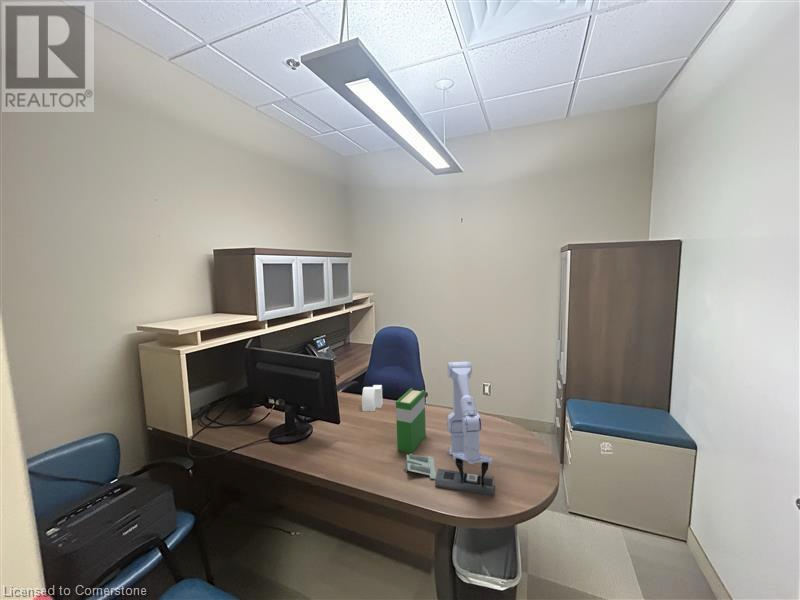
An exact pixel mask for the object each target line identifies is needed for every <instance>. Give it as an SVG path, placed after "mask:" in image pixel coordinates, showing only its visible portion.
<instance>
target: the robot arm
mask: <svg viewBox="0 0 800 600" xmlns="http://www.w3.org/2000/svg"><path fill="white" fill-rule="evenodd" d="M472 374H473V366H472V363H471V361H468V360H467V361H449V362H448V363H447V377H448V378H449V379H451V381H452V401H453V403H452V404H453V406H452V407H453V410H452V412H451V413H449V414H448V415H447V421H446V425H447V426H446V427H447V432H448V433H449V434H450V449H449V453H448V454H449V455H450V456H451V455H452V460H453V461H454V460H455V466H456V468H457V469H458V472H460V475H461V478H462V479H463V472H464V461H465V462H468V464H470V465H474V464H475V463H481V466H480V467H481V475H482V476H481V482H483V479H484V476H486V473H487V471H488V469H489V466H491V465H492V457H491V456H486V455H484V454H481V453H480V431H482V428H483V427H482V426H483V425H482V419H481V415H480V414H479V412H478V409H477V406H476V402H475V398H474V397H473V396H471V389H470V388H471V387H470V379H471V377H472Z"/></svg>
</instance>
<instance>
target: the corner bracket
mask: <svg viewBox="0 0 800 600" xmlns="http://www.w3.org/2000/svg"><path fill="white" fill-rule="evenodd" d="M383 401H384V399H383V385H382V384H373V385H372V386H364V387H363V388H362V394H361V411H362V412H375V411H376V409H382V406H383Z"/></svg>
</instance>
